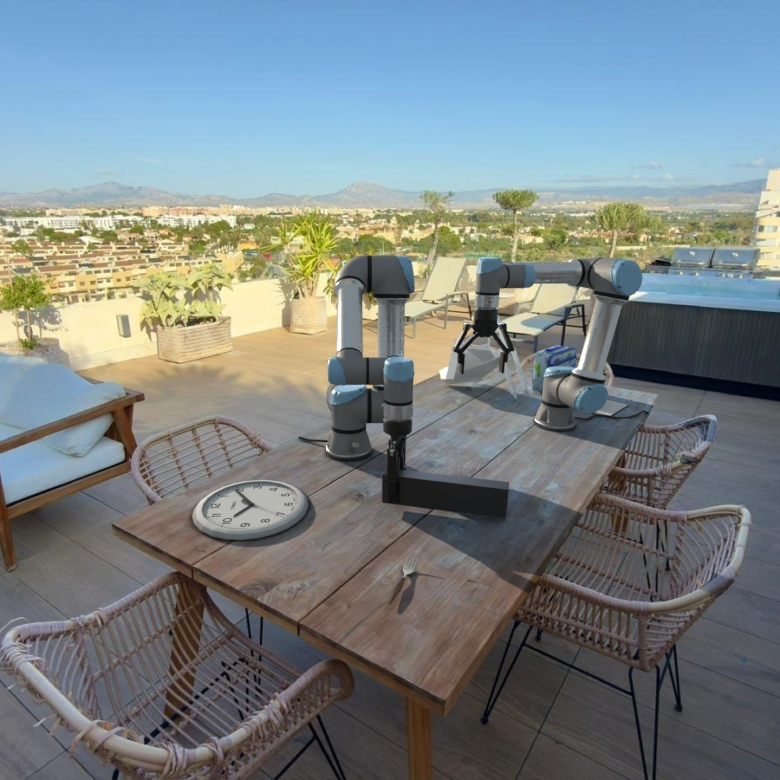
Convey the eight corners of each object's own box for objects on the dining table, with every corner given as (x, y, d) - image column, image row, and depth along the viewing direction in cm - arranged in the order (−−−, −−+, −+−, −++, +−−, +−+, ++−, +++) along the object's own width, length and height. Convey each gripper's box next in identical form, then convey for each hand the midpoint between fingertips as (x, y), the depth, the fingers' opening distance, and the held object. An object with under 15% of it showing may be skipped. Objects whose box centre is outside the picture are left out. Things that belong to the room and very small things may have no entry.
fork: (383, 605, 105) (383, 597, 105) (407, 560, 120) (408, 552, 119) (395, 608, 104) (395, 600, 104) (418, 562, 119) (419, 555, 118)
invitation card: (608, 416, 214) (573, 407, 224) (608, 416, 214) (573, 408, 224) (628, 404, 229) (594, 396, 238) (628, 405, 229) (594, 397, 238)
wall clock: (304, 532, 127) (176, 536, 124) (304, 538, 127) (177, 542, 125) (311, 475, 155) (207, 478, 153) (311, 480, 156) (208, 483, 153)
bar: (506, 510, 138) (509, 481, 135) (506, 519, 134) (508, 489, 131) (385, 495, 145) (386, 467, 142) (381, 502, 141) (382, 474, 138)
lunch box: (548, 398, 236) (553, 353, 229) (527, 393, 243) (531, 349, 237) (575, 387, 253) (581, 344, 247) (555, 382, 260) (560, 341, 254)
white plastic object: (461, 429, 252) (437, 405, 227) (444, 352, 274) (420, 323, 250) (535, 404, 240) (518, 377, 215) (510, 326, 262) (492, 293, 237)
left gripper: (391, 405, 144) (389, 482, 151) (375, 427, 128) (374, 512, 134) (418, 408, 142) (415, 485, 149) (405, 430, 126) (402, 516, 133)
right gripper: (450, 309, 160) (447, 376, 166) (528, 309, 163) (522, 374, 170) (444, 306, 167) (441, 370, 173) (519, 306, 171) (513, 368, 177)
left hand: (396, 498), depth 142 cm, fingers closed on bar, 4 cm apart
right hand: (481, 372), depth 172 cm, fingers open, 13 cm apart
